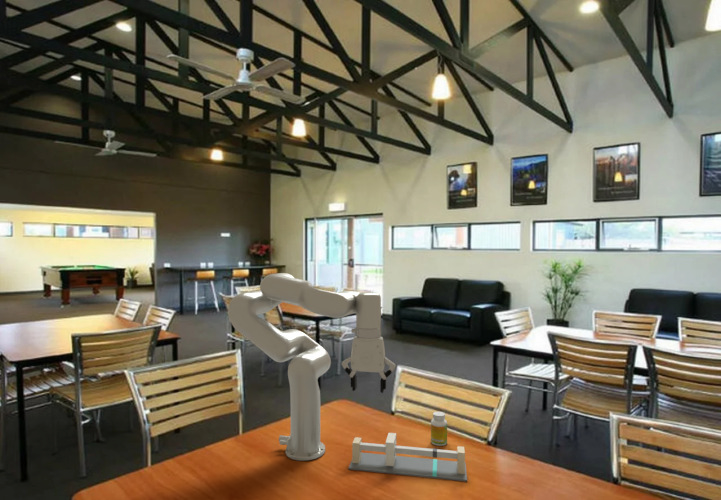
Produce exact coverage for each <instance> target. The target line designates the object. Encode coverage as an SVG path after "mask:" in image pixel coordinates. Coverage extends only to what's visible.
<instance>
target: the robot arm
mask: <svg viewBox="0 0 721 500" xmlns="http://www.w3.org/2000/svg"><path fill="white" fill-rule="evenodd" d="M312 285H313V284H312V283H311V281H308V280H304V279H301V278H296V277H294V276H293V275H292V274H290V273H286V272H280V273H270V274H267V275H266V276H264V277H263V278H262V280H261V282H260V284H259V289H258V290H252V291H245V292H241V293H239V294H236V295H235V296H234V297H232V298H231V299H230V301H229V304H228V309H227V311H228V312H227V313H228V314H227V315H228V318H229V321H230V323H231V325H232V327H233V328H234V329H235V330H236V331H237V332H238V333H239V334H241V336H243V337H245V338H246V339H247V340H248V341H250V343H253V345H255V346H256V347H257V348H258V349H260V350H261V351H262V352H263V353H264V354H265V355H267V356H268V357H269V358H271V360H273V361H274V362H277V363H284V362H287V361H290V360H291V361H290V362H289V364H288V367H287V376H288V377H287V378H288V383H289V392H290V393H289V395H290V398H289V399H290V404H289V405H290V435H279V437H278V442H279V445H281V446H284V445H286V447H285V455H286V457H288V458H289V459H291V460H294V461H300V462H301V461H305V462H306V461H312V460H315V459H319V458H320V457H322V456H323V455H324V454H325V453H326V445H325V444H324V443H323V442H322V441H321V390H320V386H319V381H318V380H319V378H320V377H322V376H323V375H324V374H325V373H327V372H328V371H329V369H330V368H331V364H332V360H331V357H330V354H329V352H328V351H327V350H326V349H325V348H324V347H323V346H322V345H321V344H319V343H318V342H317V341H315V340H314V339H313V338H311V337H310V336H309V335H308V334H306V333H305V332H303V331H301V330H299V329H296V328H292V329H291V328H289V329H286V330H280V329H279V328H277V327H276V326H275V325H273V324H272V323H271V322H269V321H268V320H266V319H264V318H262V317H260V315H264V314H266V313H268V312H270V311H272V310H273V309H275V308H276V307H278V306H279V305H281V304H282V303H286V304H289V305H293V306H297V307H301V308H303V309H304V310H307V311H308V312H310V313H313V314H317V315H320V316H324V317H329V318H333V319H341V318H344V317H346V316H350V315H353V314H355V315H356V316H355V319H356V320H355V321H356V322H355V327H354V328H351V333H352V334H355V336H353V339H352V344H351V354H350V356H349V357H347V358H346V359H344V360H343V361H342V362H341V363H340V364H341V366H342V368H343V369H344V372H346V374H347V375H349V378H350V388H351V389H352V390H351V391H353V392H354V391H356V390H357V388H358V382H357V381H358V379H357V375H356V373H357V372H359V373H360V372H361V373H362V372H363V373H378V374H379V375H380V383H379V384H380V385H379V386H380V390H379V391H380V393H381V394H383V393H384V391H385V390H386V389H387V378H388V377H389V376H390V375H391V374H392V373H393V372H394V371H395V368H396V367H397V365H396V363H394V362H393V361H392V360H390V359H389V358H388V357H387V356H386V350H385V342H384V338H383V336H381V335H382V332H381V331H382V328H381V327H382V326H381V325H382V321H381V320H382V311H381V310H382V303H381V302H382V297H381V295H380V294H379V293H378V292H374V291H364V292H363V291H362V292H360V291H355V290H351V289H350V290H348V289H347V290H343V291H338V292H332V291H329V290H323V289H319V288H317V287H314V286H312ZM349 363H350V366H349V365H348V364H349ZM386 365H387V366H388V367H389V368H388V369H387V370H385V368H386Z"/></svg>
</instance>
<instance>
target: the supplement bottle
mask: <svg viewBox="0 0 721 500" xmlns="http://www.w3.org/2000/svg"><path fill="white" fill-rule="evenodd" d="M430 442H431V444H433V445H434V446H439V447H442V446H446V445H447V444H448V421H447V420H446V414H445V412H444V411H434V412H433V413H432V419H431V420H430Z"/></svg>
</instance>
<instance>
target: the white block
mask: <svg viewBox="0 0 721 500" xmlns="http://www.w3.org/2000/svg"><path fill="white" fill-rule="evenodd" d="M385 445H386V452H385V455H386V466H394V463H395V459H396V456H397V453H395V446H397V433H396V432H388V434H387V437H386V440H385Z"/></svg>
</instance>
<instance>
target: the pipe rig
mask: <svg viewBox="0 0 721 500" xmlns="http://www.w3.org/2000/svg"><path fill="white" fill-rule="evenodd" d="M351 445H352V446H351V447H352V449H351V450H352V451H351V453H352V454H351V455H352V458H351V461H350V464H349V466H348V470H352V471H362V472H370V473H371V472H372V473H379V474H389V475H391V474H392V475H401V476H410V477H418V478H430V479H437V480H438V479H440V480H441V479H442V480H449V481H458V482H468V474H467V472H468V471H467V464H466V451H465V446H459V445H458V446H457V445H456V446H457V447H456V450H448V449H439V448H434V447H433V448H428V447H416V446H407V445H405V446H404V445H396V446H395V453H396V459H395V463H394V466H386V454H381V453H386V444H382V443H374V442H373V443H370V442H362V437H358V436H357V437H356V436H355V437H354V439H353V441H352V444H351ZM362 451H367V452H362ZM371 452H372V453H371ZM373 452H375V453H373ZM376 452H377V453H376ZM403 455H410V456H403ZM412 456H421V457H412ZM423 457H424V458H423ZM426 457H429V458H426ZM437 458H442V459H437ZM444 459H445V460H444ZM446 459H452V460H446ZM453 459H454V460H453Z"/></svg>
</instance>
